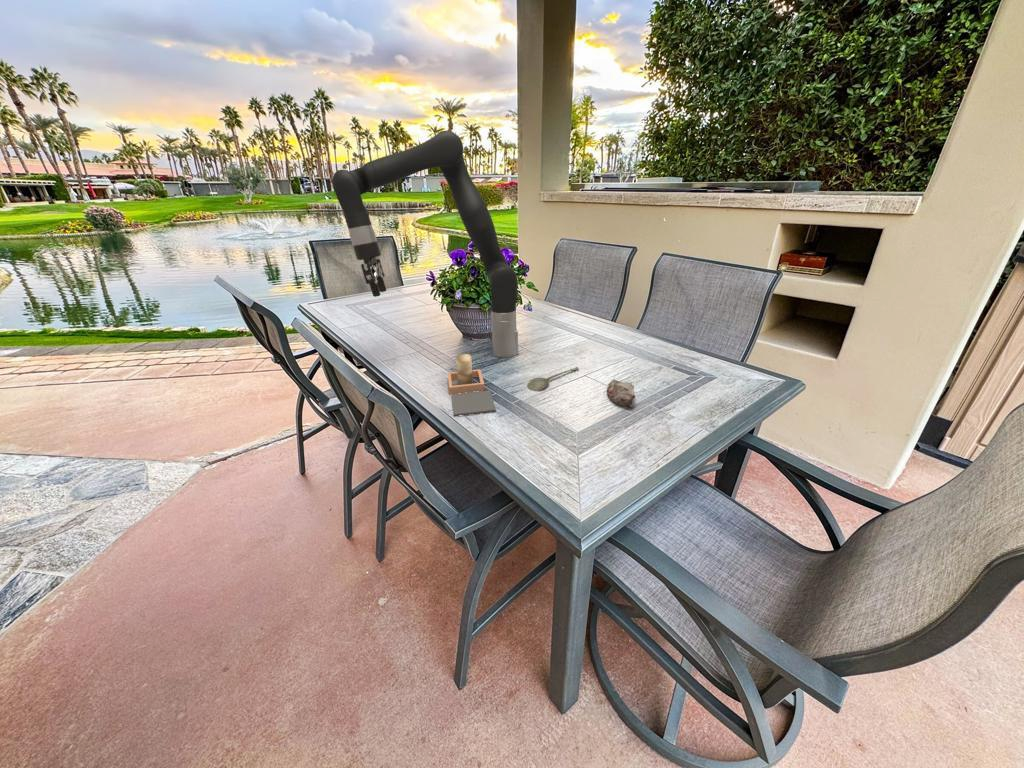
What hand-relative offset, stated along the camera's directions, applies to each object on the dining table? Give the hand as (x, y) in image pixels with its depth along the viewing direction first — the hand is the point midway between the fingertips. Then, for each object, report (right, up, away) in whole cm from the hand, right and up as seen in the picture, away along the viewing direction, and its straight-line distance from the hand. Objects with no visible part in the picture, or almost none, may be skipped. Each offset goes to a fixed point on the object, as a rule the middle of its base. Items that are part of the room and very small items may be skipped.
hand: (380, 293), depth 129 cm
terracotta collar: (+28, -30, -1) cm, 41 cm away
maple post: (+28, -30, -1) cm, 41 cm away
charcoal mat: (+32, -36, -12) cm, 49 cm away
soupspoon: (+57, -29, +2) cm, 64 cm away
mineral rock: (+76, -34, -10) cm, 84 cm away
